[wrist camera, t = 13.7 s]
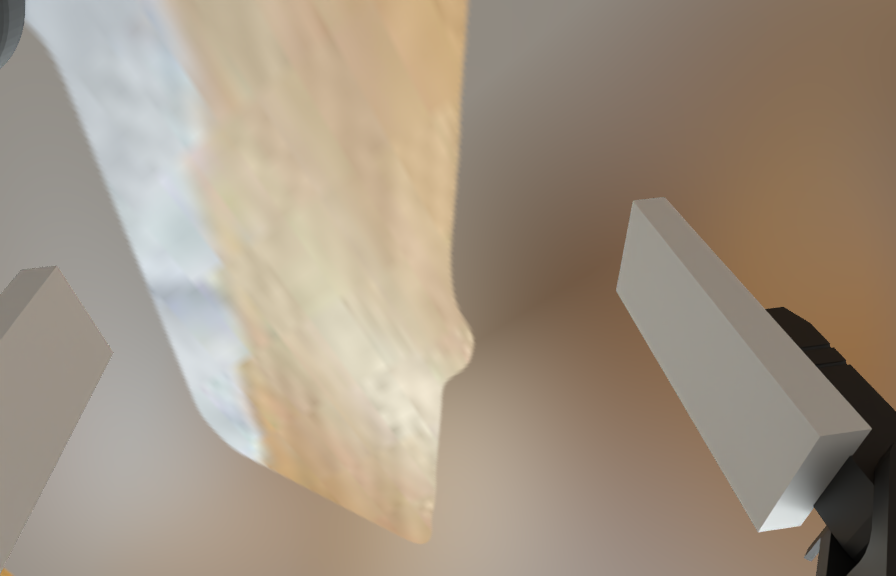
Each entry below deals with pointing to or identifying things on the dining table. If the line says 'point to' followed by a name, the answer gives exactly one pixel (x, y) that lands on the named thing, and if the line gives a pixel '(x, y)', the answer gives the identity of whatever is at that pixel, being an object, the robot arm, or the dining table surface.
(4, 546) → the robot arm
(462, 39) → the dining table surface
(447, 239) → the dining table surface
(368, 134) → the dining table surface
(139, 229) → the dining table surface
